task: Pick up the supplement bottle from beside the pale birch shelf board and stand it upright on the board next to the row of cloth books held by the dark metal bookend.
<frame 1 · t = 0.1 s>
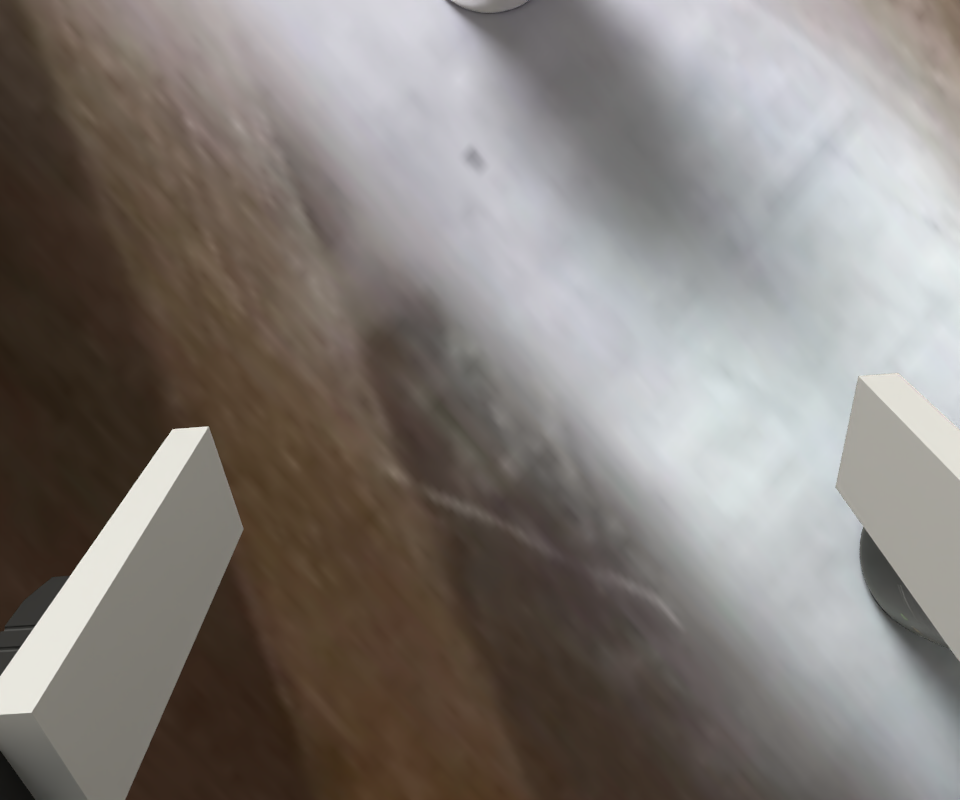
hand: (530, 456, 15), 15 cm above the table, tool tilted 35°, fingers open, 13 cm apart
supplement bottle: (934, 553, 29), on the table
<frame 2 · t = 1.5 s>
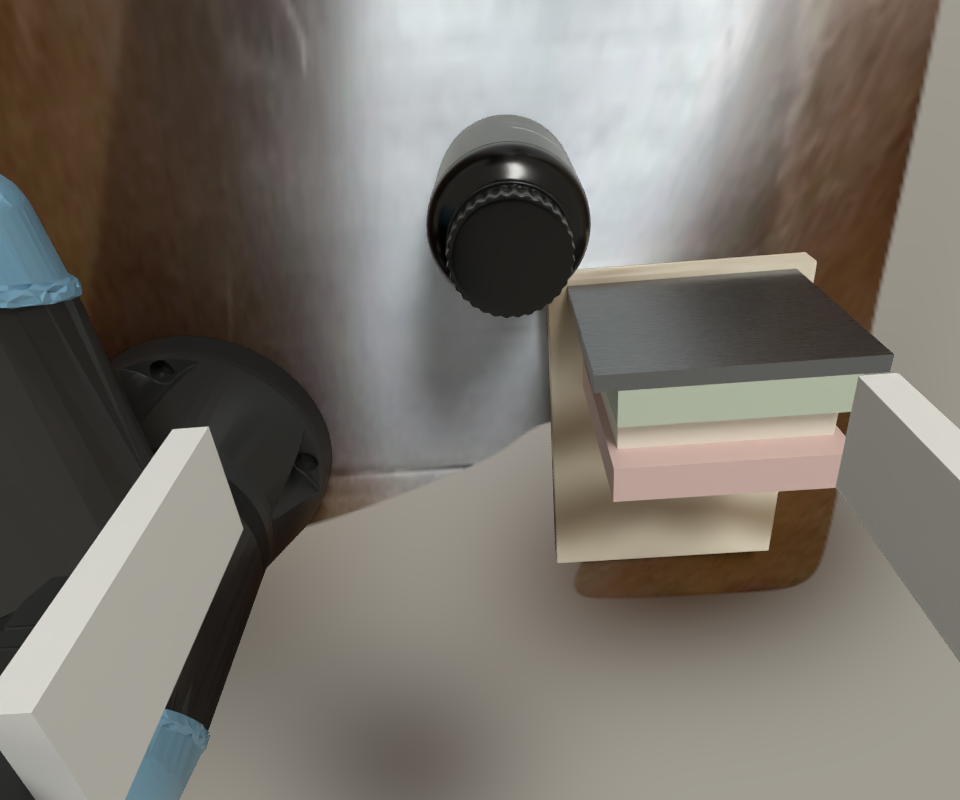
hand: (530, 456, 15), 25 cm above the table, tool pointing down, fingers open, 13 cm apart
shelf board: (664, 431, 44), on the table
supplement bottle: (503, 181, 36), on the table
book row: (703, 383, 34), on the shelf board, point 7 cm above the table
bookend: (707, 323, 33), on the shelf board, point 6 cm above the table
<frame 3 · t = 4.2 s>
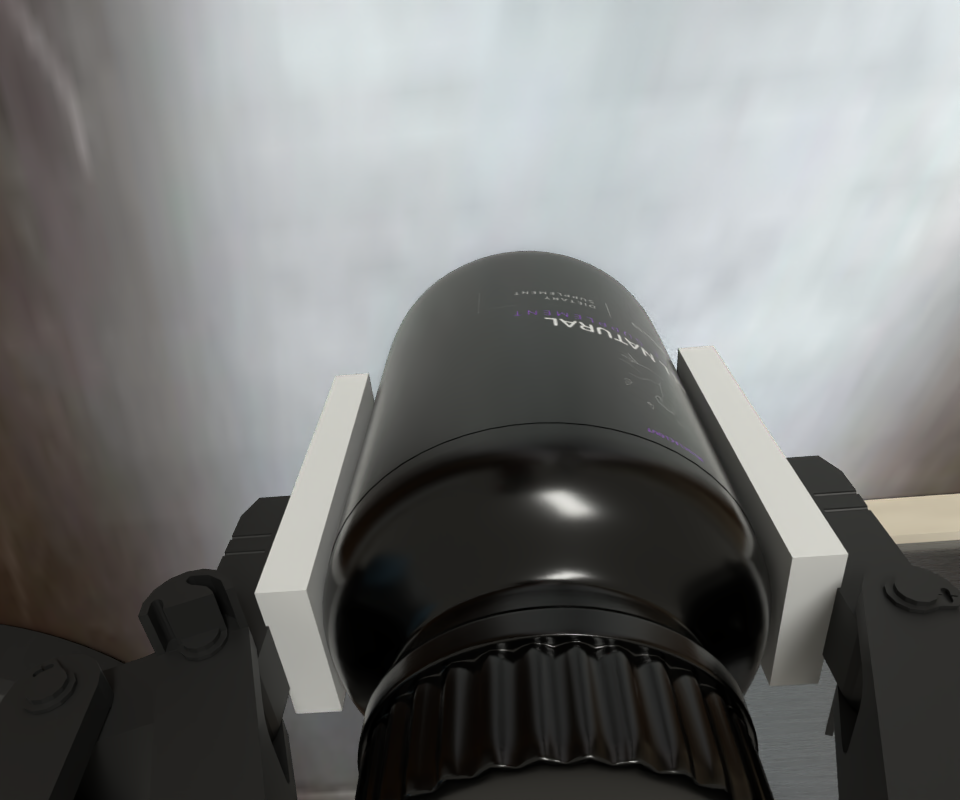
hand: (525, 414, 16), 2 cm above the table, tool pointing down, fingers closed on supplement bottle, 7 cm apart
shelf board: (795, 740, 25), on the table
supplement bottle: (520, 368, 18), on the table, touching gripper
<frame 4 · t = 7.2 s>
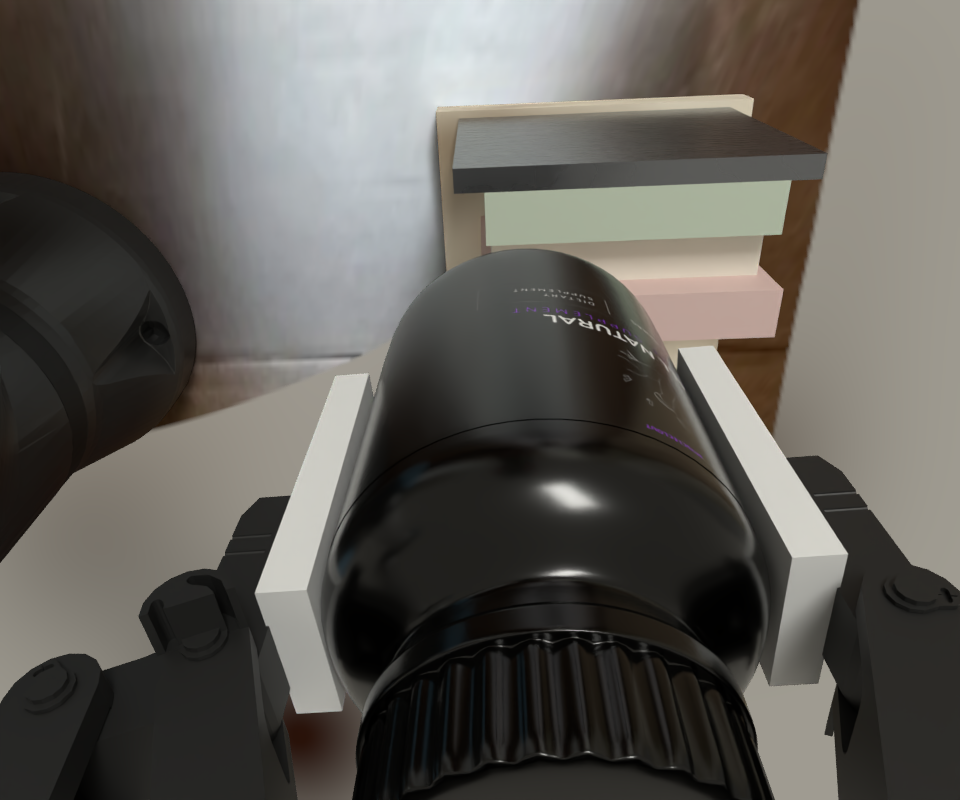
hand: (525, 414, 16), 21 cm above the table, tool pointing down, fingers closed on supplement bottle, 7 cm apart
shelf board: (581, 320, 38), on the table
supplement bottle: (519, 365, 18), point 19 cm above the table, touching gripper
book row: (609, 225, 28), on the shelf board, point 7 cm above the table
bookend: (612, 143, 27), on the shelf board, point 6 cm above the table
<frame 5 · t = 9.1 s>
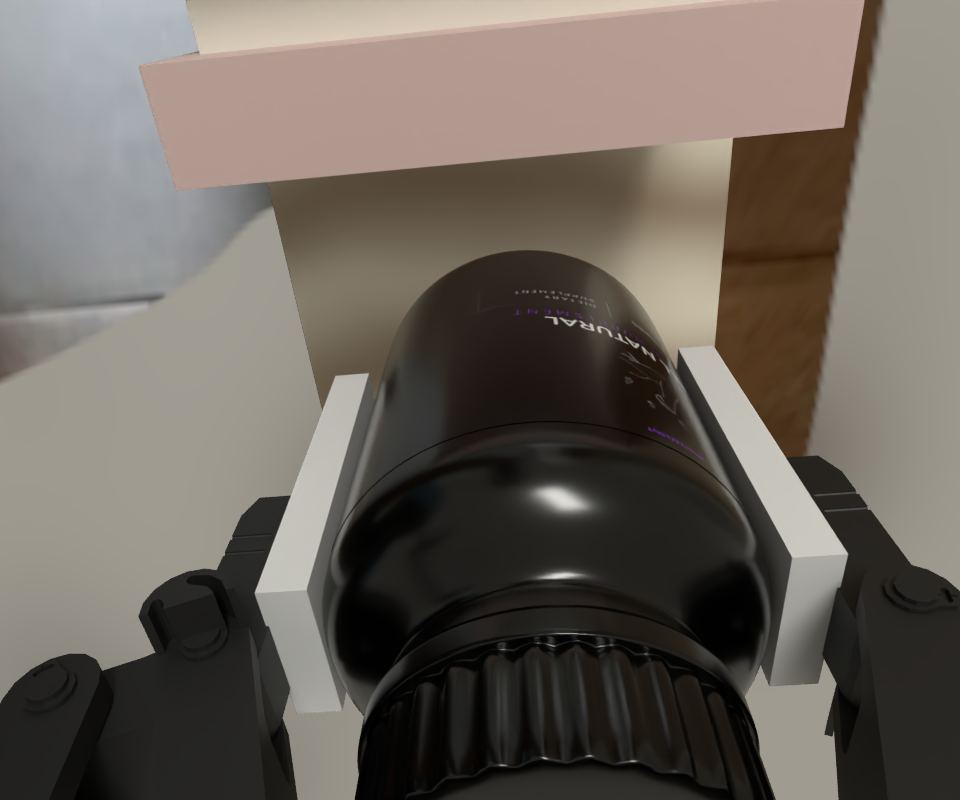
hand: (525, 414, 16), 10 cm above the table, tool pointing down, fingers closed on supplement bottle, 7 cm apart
shelf board: (501, 221, 24), on the table
supplement bottle: (520, 367, 18), point 7 cm above the table, touching gripper
when the fingers open (5 cm above the table, at t = 10.5 s): supplement bottle drops 1 cm, resting on shelf board.
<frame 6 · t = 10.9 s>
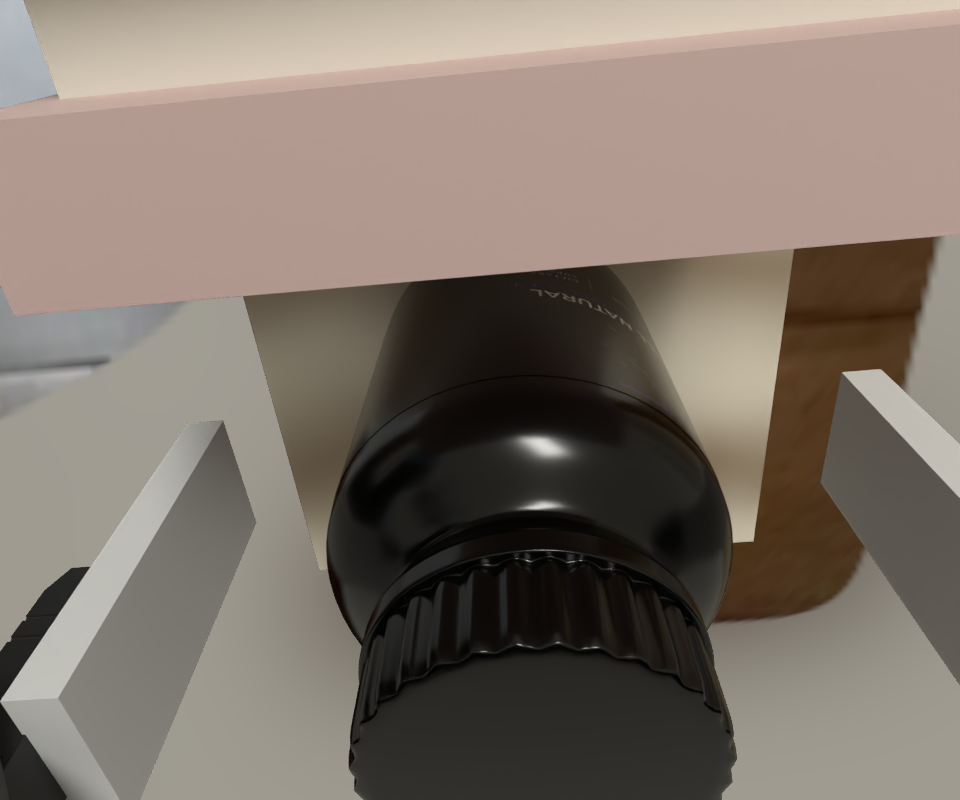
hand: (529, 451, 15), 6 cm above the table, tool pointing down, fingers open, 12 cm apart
shelf board: (512, 275, 19), on the table
supplement bottle: (510, 345, 19), point 1 cm above the table, touching shelf board
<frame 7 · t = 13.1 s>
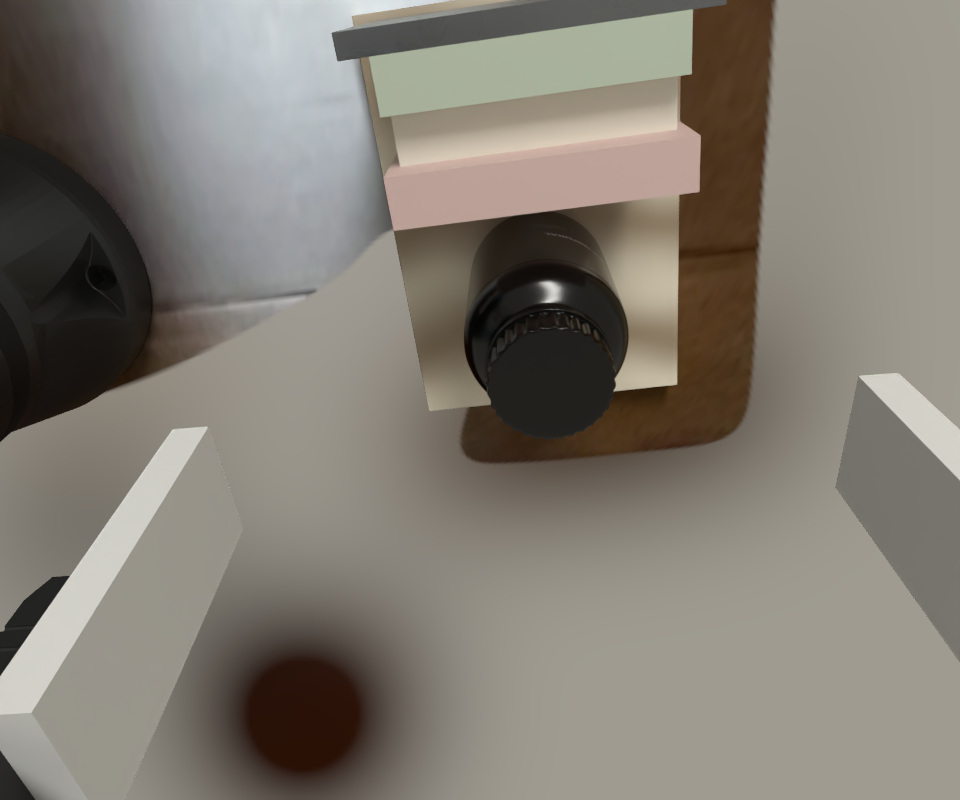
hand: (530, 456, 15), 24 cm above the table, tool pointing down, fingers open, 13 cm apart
shelf board: (535, 234, 37), on the table
supplement bottle: (535, 271, 36), point 1 cm above the table, touching shelf board
book row: (528, 105, 27), on the shelf board, point 7 cm above the table
bookend: (520, 13, 26), on the shelf board, point 6 cm above the table
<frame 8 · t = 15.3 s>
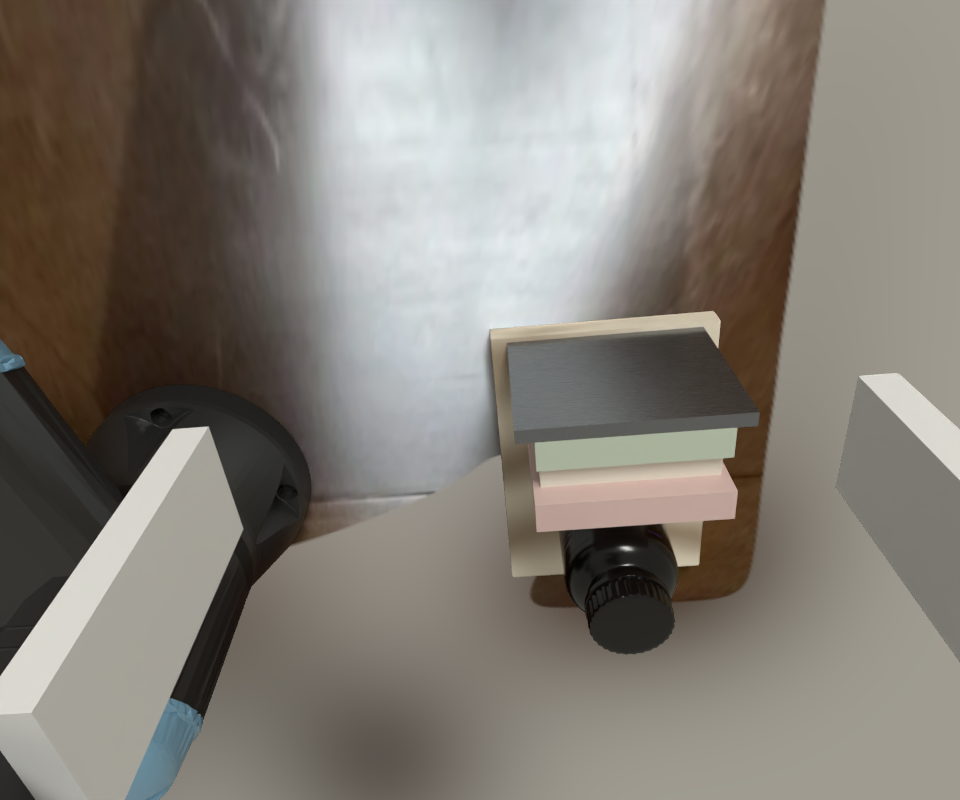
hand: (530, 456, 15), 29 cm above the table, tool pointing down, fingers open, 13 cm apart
shelf board: (601, 462, 50), on the table
supplement bottle: (601, 490, 49), point 1 cm above the table, touching shelf board
book row: (618, 428, 40), on the shelf board, point 7 cm above the table
bookend: (618, 379, 39), on the shelf board, point 6 cm above the table
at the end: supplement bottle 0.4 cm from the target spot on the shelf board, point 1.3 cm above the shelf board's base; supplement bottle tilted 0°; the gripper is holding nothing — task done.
